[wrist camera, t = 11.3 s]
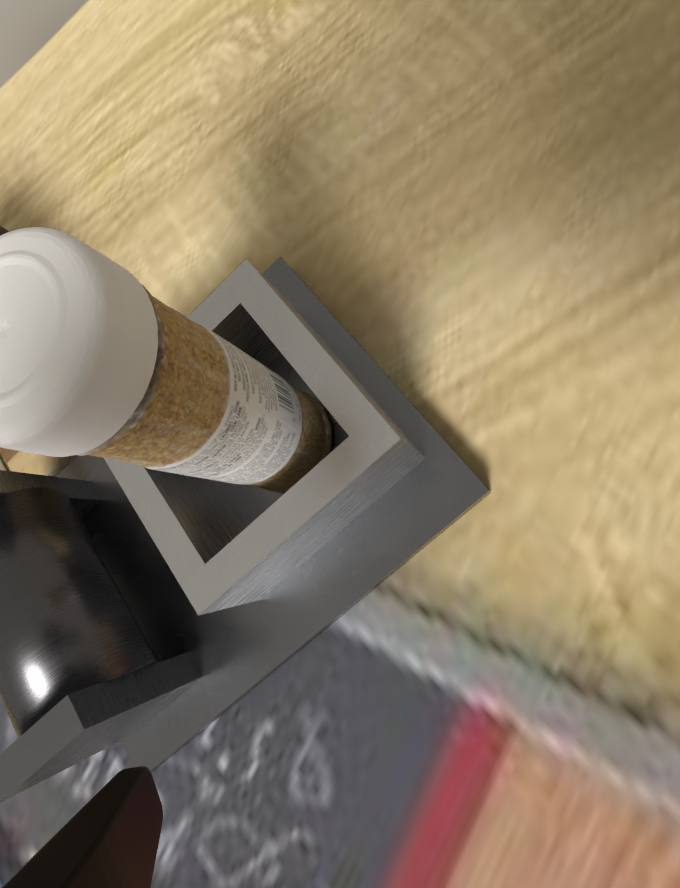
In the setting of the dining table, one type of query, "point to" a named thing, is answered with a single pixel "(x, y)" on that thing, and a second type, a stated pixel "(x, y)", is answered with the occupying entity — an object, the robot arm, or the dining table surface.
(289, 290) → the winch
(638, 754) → the dining table surface
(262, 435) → the sprinkles bottle
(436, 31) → the dining table surface
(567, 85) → the dining table surface
